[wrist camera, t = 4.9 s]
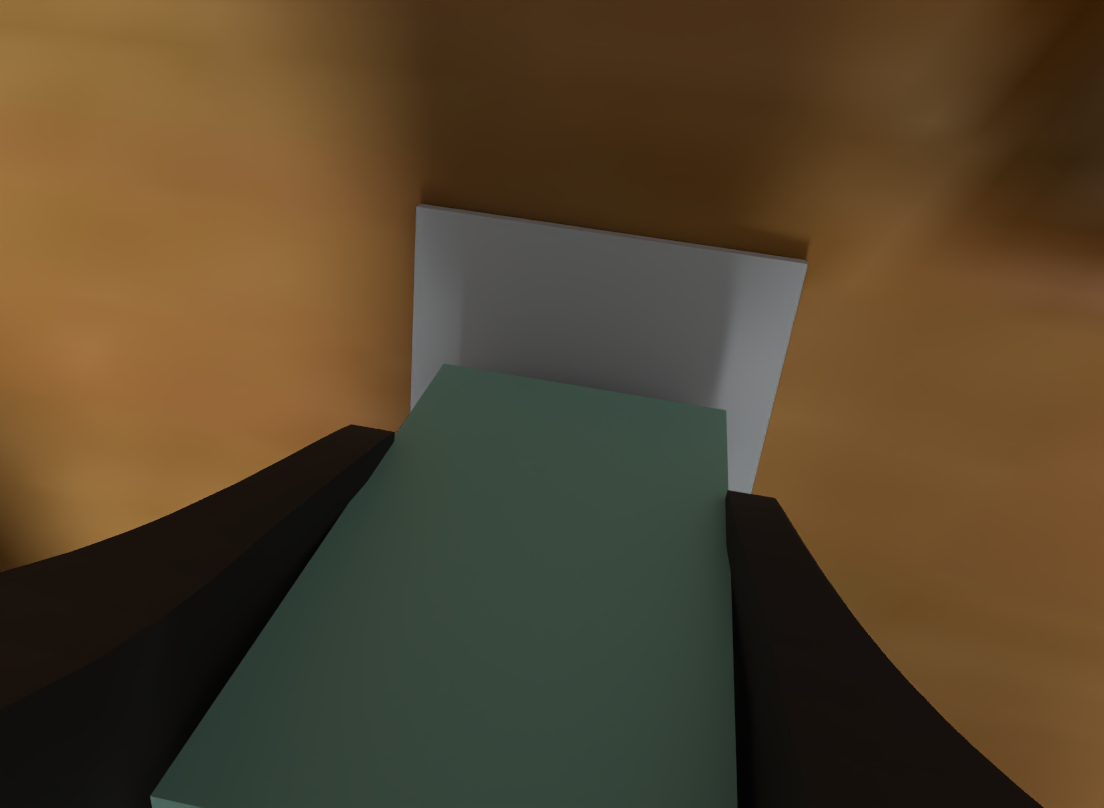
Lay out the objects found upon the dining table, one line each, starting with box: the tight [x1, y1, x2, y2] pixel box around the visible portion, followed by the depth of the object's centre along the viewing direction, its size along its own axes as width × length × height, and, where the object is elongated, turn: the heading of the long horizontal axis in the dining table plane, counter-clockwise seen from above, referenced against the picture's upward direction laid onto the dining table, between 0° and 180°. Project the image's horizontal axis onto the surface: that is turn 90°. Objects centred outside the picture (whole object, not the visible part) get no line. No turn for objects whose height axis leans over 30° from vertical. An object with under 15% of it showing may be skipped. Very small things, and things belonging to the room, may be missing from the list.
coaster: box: [410, 204, 808, 494], centre depth 15 cm, size 6×6×1 cm
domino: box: [150, 364, 737, 808], centre depth 10 cm, size 2×4×8 cm, turn 84°
